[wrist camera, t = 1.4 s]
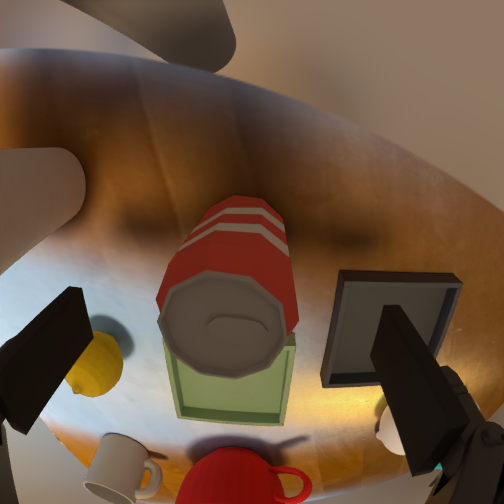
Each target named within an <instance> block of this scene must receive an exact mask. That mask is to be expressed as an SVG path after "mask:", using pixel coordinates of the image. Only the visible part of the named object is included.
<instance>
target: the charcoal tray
mask: <svg viewBox="0 0 504 504" xmlns="http://www.w3.org/2000/svg"><path fill="white" fill-rule="evenodd" d="M462 285H463V283H462V282H461V281H460V280H459V279H458V278H457V277H456V276H455V275H454V274H442V273H401V272H367V271H339V278H338V284H337V290H336V296H335V302H334V308H333V313H332V319H331V324H330V330H329V335H328V340H327V345H326V350H325V354H324V359H323V364H322V368H321V373H320V377H321V382H322V388H343V387H363V386H377V385H381V384H380V381H379V379H378V376H377V374H376V371H375V368H374V366H373V363H372V361H371V358H370V353H371V350H372V347H373V343H374V340H375V336H376V332H377V329H378V325H379V321H380V317H381V313H382V309H383V305H400V306H401V307H402V309H403V310H404V312H405V313H406V315H407V316H408V318H409V319H410V321H411V322H412V324H413V325H414V327H415V328H416V330H417V331H418V333H419V334H420V336H421V337H422V339H423V341H424V342H425V344H426V345H427V347H428V348H429V350H430V352H431V353H432V355H433V356H434V358H435V359H436V357H437V355H438V352H439V350H440V347H441V345H442V342H443V340H444V337H445V335H446V332H447V329H448V327H449V324H450V321H451V319H452V316H453V313H454V310H455V307H456V304H457V301H458V298H459V295H460V292H461V288H462Z"/></svg>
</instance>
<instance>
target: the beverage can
mask: <svg viewBox="0 0 504 504" xmlns="http://www.w3.org/2000/svg"><path fill="white" fill-rule="evenodd" d="M156 302H157V305H158V307H159V310H160V315H159V318H158V320H157V323H158V325H159V328H160V331H161V333H162V336H163V338H164V341H165V343H166V346H167V348H168V350H169V353H170V354H172V355H173V356H174V357H176V358H177V359H178V360H180V361H181V362H183V363H184V364H185V365H187V366H188V367H190V368H191V369H192V370H194V371H195V372H197V373H198V374H202V375H208V376H214V377H220V378H227V379H234V380H236V379H239V378H242V377H245V376H248V375H251V374H254V373H257V372H260V371H263V370H265V369H268V368H270V366H271V365H272V363H273V362H274V361H275V359H276V358H277V356H278V355H279V354H280V352H281V351H282V349H283V348H284V347H285V345H286V344H287V342H288V336H289V335H290V333H291V332H292V330H293V329H294V327H295V326H296V324H297V323H298V321H299V316H298V308H297V301H296V294H295V287H294V280H293V274H292V268H291V262H290V256H289V250H288V244H287V239H286V233H285V228H284V222H283V218H282V217H281V216H280V215H279V214H278V213H277V212H276V211H275V210H274V209H273V208H272V207H271V206H270V205H268V204H267V203H266V202H265V201H264V200H263V199H261V198H254V197H246V196H239V195H233V196H231V197H229V198H227V199H225V200H223V201H221V202H220V203H218V204H216V205H214V206H212V207H210V208H209V209H208V211H207V212H206V213H205V215H204V216H203V217H202V219H201V220H200V221H199V223H198V224H197V225H196V227H195V228H194V229H193V231H192V232H191V233H190V235H189V236H188V238H187V239H186V240H185V242H184V243H183V244H182V246H181V247H180V249H179V250H178V251H177V253H176V254H175V256H174V257H173V258H172V260H171V261H170V263H169V265H168V268H167V270H166V273H165V275H164V278H163V281H162V284H161V286H160V289H159V292H158V294H157V297H156Z"/></svg>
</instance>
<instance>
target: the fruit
mask: <svg viewBox="0 0 504 504" xmlns="http://www.w3.org/2000/svg"><path fill="white" fill-rule="evenodd" d="M92 332H93V336H94V338H93V340H92V341H91V342H90V344H89V345H88V346H87V348H86V349H85V350H84V352H83V353H82V354H81V356H80V357H79V359H78V360H77V361H76V363H75V364H74V365H73V367H72V368H71V370H70V371H69V372H68V374H67V375H66V377H65V379H66V381H67V382H68V384H69V385H70V386H71V387H72V391H73V393H74V394H82V395H85V396H88V397H97V396H100V395H103V394H105V393H107V392H108V391H109V390H111V389H112V388H113V387H114V386H115V385H116V383H117V382H118V381H119V379H120V377H121V374H122V370H123V358H122V353H121V350H120V348H119V346H118V344H117V343H116V340H115V338H114V337H113V336H112V335H110V334H105V333H103V332H99V331H92Z"/></svg>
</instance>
